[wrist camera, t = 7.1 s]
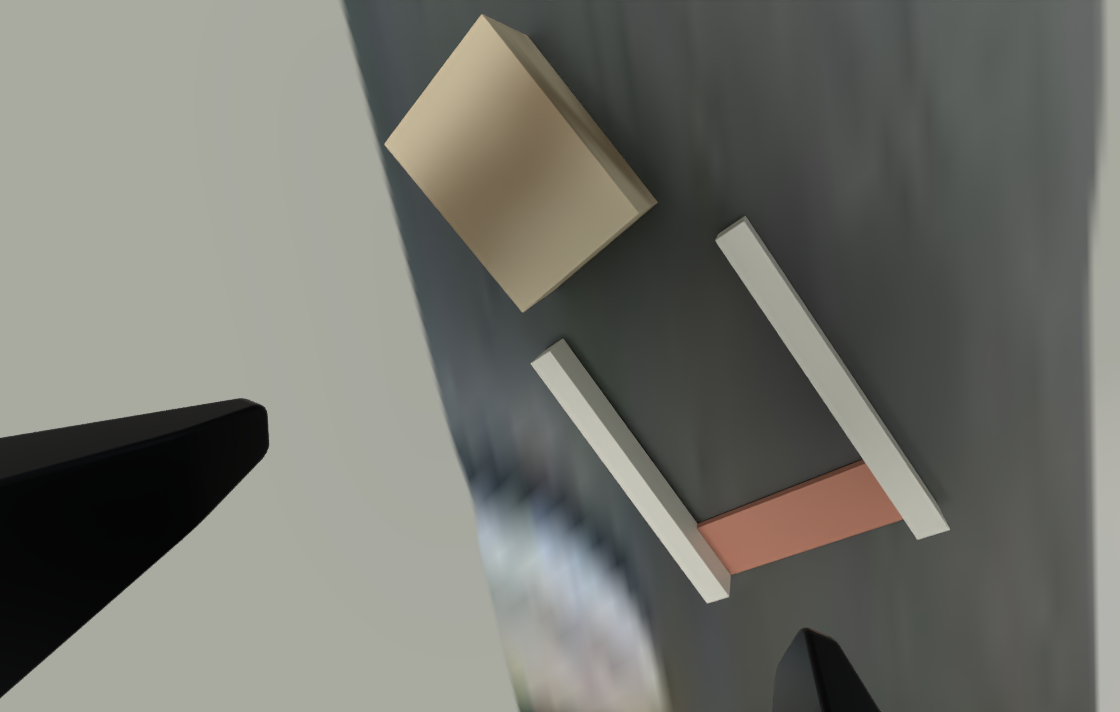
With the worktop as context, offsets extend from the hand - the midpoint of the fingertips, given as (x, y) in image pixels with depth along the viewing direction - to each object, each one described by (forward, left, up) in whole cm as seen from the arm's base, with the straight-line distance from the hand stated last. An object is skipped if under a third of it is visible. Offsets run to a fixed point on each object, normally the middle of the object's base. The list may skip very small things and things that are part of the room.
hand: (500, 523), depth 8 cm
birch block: (+6, 0, -13) cm, 14 cm away
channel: (-5, 0, -13) cm, 14 cm away
